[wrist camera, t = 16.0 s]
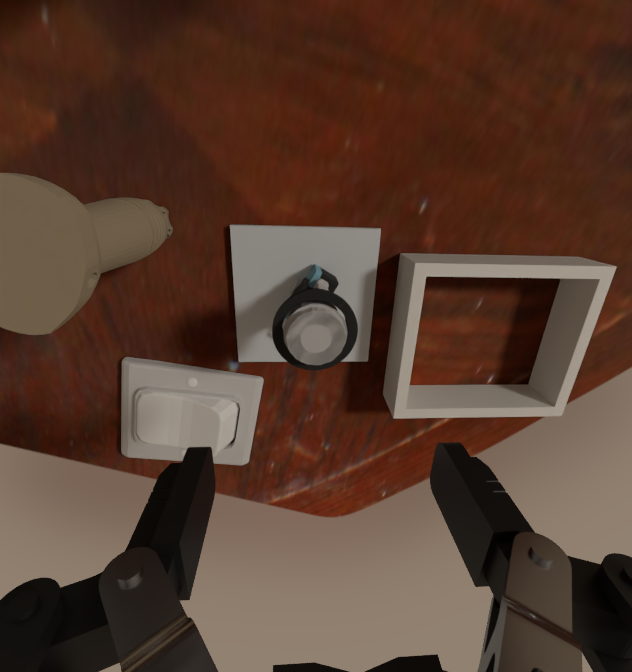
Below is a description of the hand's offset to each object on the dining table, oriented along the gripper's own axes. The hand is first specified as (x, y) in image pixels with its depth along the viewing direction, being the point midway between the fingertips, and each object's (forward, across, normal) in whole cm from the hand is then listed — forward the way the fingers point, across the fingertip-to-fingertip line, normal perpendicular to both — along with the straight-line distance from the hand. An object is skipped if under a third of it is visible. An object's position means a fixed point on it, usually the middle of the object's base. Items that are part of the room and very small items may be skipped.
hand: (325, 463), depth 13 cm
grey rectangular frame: (+20, -16, +3) cm, 26 cm away
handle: (+20, +12, -6) cm, 24 cm away
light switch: (+21, +11, +12) cm, 27 cm away
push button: (+20, 0, 0) cm, 20 cm away
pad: (+20, 0, 0) cm, 20 cm away
